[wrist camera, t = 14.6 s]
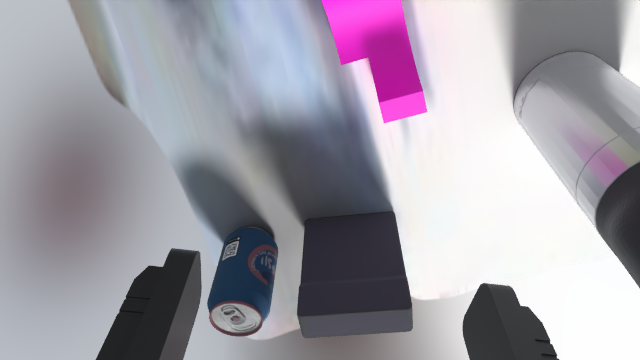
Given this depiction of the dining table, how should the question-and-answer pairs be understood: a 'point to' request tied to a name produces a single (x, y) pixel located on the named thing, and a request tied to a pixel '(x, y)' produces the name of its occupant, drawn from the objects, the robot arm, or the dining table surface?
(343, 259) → the dark grey box
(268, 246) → the soda can
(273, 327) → the dining table surface
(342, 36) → the toy block
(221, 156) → the dining table surface
